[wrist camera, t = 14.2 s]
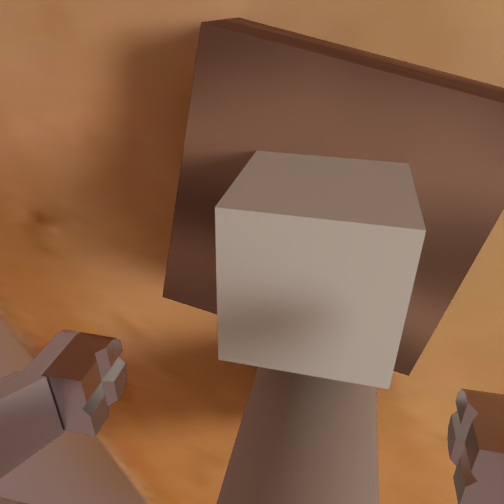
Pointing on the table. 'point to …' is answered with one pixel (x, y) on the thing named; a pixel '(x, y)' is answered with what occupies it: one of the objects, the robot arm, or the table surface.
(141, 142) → the table surface
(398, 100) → the walnut block
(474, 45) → the table surface
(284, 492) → the travel mug
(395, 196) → the light gray cube
